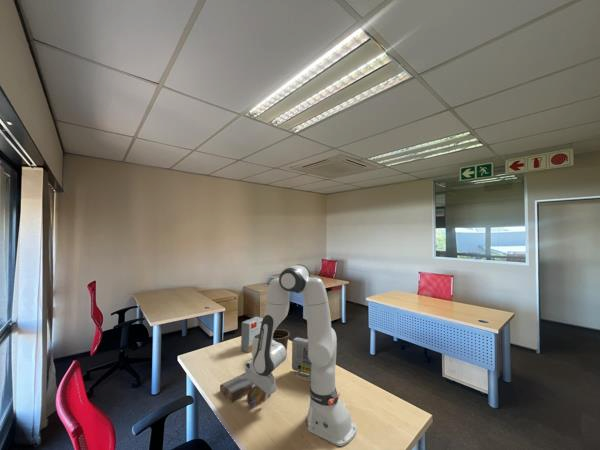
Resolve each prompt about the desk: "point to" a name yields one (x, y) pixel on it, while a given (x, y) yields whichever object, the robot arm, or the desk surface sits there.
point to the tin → (255, 396)
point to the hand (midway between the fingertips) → (259, 394)
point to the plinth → (236, 388)
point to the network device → (301, 357)
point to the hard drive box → (250, 332)
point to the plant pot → (281, 337)
